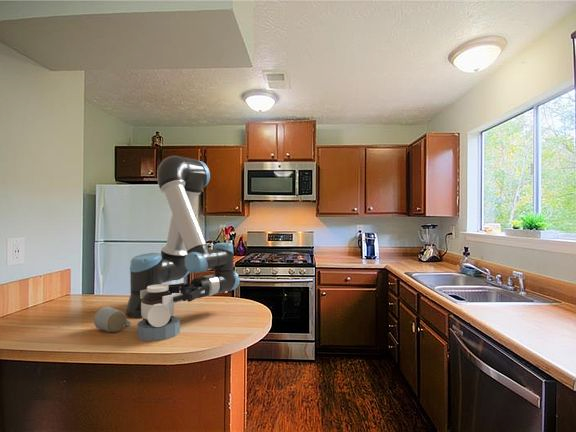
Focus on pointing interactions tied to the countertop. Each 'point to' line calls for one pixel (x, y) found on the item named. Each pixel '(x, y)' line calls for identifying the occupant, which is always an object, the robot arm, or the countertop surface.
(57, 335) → the countertop surface
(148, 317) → the spread jar
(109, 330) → the ceramic mug
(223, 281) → the robot arm
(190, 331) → the countertop surface
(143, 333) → the slate bowl
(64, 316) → the countertop surface
